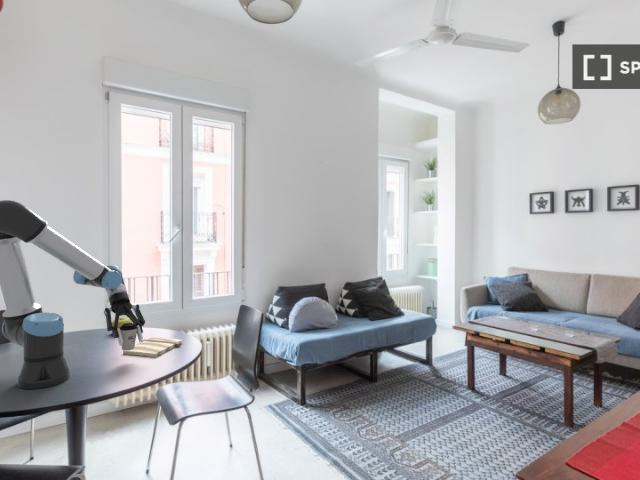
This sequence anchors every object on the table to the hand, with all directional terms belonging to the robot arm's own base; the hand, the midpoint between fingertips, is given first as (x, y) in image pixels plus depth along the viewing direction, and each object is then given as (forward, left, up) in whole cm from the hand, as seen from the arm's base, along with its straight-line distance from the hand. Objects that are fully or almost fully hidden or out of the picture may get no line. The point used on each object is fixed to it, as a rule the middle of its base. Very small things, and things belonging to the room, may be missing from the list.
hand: (131, 342), depth 155 cm
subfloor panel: (+19, +3, -9) cm, 21 cm away
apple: (+36, +34, -9) cm, 50 cm away
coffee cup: (+2, +3, -4) cm, 5 cm away
